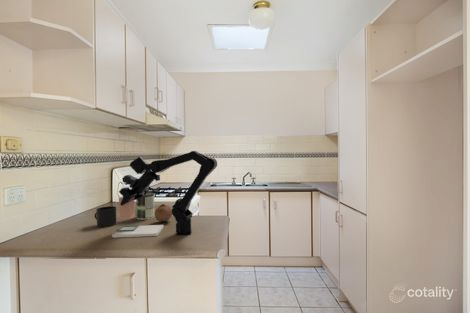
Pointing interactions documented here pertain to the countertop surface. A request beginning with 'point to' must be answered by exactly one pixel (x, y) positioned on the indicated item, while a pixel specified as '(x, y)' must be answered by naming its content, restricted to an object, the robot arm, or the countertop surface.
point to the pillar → (126, 209)
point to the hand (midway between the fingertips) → (124, 203)
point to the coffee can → (145, 207)
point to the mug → (106, 216)
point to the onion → (163, 213)
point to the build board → (137, 231)
